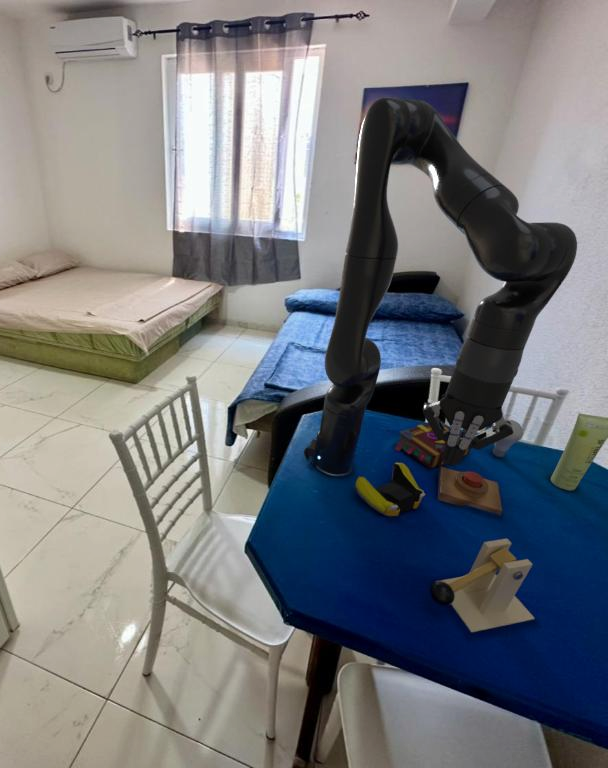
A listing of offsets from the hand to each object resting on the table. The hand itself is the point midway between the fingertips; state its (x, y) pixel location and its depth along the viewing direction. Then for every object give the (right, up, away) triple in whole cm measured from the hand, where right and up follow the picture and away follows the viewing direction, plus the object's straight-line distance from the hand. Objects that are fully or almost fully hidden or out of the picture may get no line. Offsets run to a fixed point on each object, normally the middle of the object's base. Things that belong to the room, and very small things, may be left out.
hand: (449, 462), depth 67 cm
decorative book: (+17, -5, +40) cm, 44 cm away
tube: (+44, -11, +30) cm, 55 cm away
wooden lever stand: (+7, -25, +3) cm, 26 cm away
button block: (+18, -12, +26) cm, 34 cm away
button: (+19, -9, +24) cm, 32 cm away
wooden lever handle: (+3, -19, -1) cm, 20 cm away
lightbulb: (+34, -6, +39) cm, 52 cm away
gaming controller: (0, -13, +24) cm, 27 cm away
